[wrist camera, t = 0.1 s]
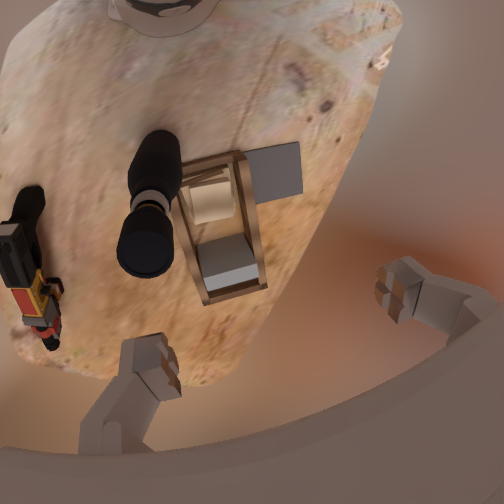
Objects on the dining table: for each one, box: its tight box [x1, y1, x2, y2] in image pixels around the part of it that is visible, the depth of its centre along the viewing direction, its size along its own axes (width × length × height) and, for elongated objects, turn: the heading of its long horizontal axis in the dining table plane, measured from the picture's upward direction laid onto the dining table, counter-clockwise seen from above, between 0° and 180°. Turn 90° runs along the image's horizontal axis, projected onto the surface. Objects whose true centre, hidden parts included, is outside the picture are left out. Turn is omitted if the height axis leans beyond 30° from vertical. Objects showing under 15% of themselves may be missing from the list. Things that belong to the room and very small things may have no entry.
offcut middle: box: [180, 168, 235, 225], centre depth 45 cm, size 7×7×2 cm
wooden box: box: [170, 150, 268, 306], centre depth 49 cm, size 26×13×6 cm, turn 8°
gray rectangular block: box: [197, 233, 259, 291], centre depth 50 cm, size 3×9×10 cm, turn 98°
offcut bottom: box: [182, 164, 236, 217], centre depth 46 cm, size 7×8×2 cm
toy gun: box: [0, 186, 64, 352], centre depth 39 cm, size 6×28×15 cm, turn 171°
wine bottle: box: [116, 130, 183, 279], centre depth 29 cm, size 6×6×30 cm
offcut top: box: [189, 177, 234, 224], centre depth 43 cm, size 6×6×2 cm
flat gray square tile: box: [243, 142, 303, 205], centre depth 48 cm, size 10×10×1 cm
